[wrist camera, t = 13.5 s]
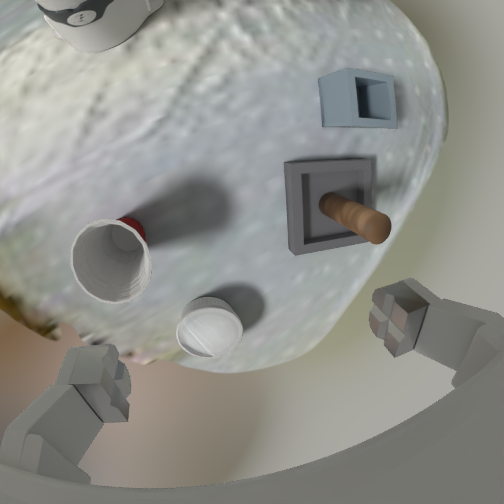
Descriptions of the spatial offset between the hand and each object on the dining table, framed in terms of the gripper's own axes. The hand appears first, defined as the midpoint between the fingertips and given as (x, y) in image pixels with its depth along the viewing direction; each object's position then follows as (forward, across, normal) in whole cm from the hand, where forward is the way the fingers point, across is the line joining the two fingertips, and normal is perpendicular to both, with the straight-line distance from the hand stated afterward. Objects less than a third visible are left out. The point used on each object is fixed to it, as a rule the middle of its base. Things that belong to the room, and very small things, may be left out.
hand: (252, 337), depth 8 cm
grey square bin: (+36, -24, -10) cm, 44 cm away
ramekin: (+35, +3, +25) cm, 43 cm away
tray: (+35, -20, +7) cm, 41 cm away
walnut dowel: (+34, -20, +7) cm, 41 cm away
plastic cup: (+36, +13, +7) cm, 38 cm away
